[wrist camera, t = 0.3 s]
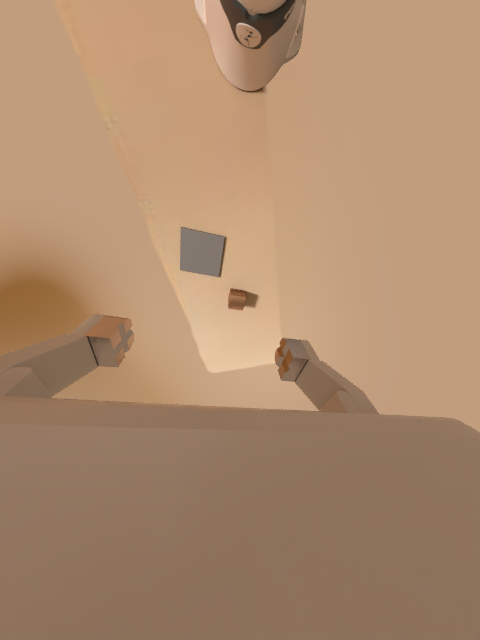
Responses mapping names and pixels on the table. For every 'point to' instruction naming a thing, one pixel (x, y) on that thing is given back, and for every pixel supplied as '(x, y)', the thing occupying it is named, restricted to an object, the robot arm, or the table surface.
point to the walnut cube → (236, 299)
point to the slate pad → (201, 252)
